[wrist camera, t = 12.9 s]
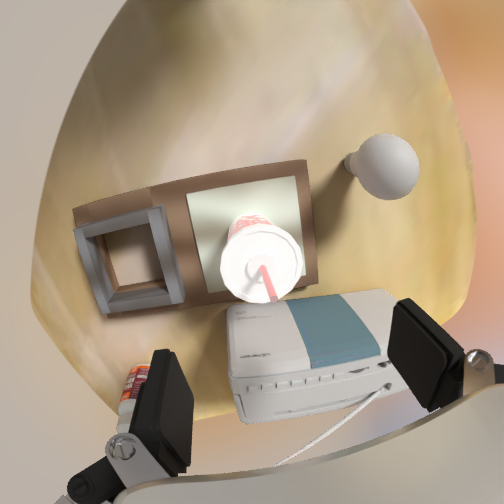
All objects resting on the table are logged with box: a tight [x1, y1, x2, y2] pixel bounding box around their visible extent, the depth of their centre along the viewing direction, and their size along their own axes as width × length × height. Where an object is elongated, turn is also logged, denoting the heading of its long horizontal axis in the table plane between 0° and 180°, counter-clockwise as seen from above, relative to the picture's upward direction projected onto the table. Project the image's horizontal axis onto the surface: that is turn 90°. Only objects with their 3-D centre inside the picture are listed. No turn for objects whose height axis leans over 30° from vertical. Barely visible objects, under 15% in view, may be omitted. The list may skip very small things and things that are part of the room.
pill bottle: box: [117, 363, 150, 434], centre depth 31 cm, size 6×6×11 cm
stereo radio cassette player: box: [226, 288, 409, 467], centre depth 26 cm, size 21×8×20 cm, turn 93°
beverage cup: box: [220, 213, 303, 303], centre depth 22 cm, size 6×6×14 cm
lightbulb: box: [344, 134, 419, 200], centre depth 24 cm, size 6×6×11 cm
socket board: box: [72, 160, 318, 318], centre depth 29 cm, size 14×26×4 cm, turn 99°
